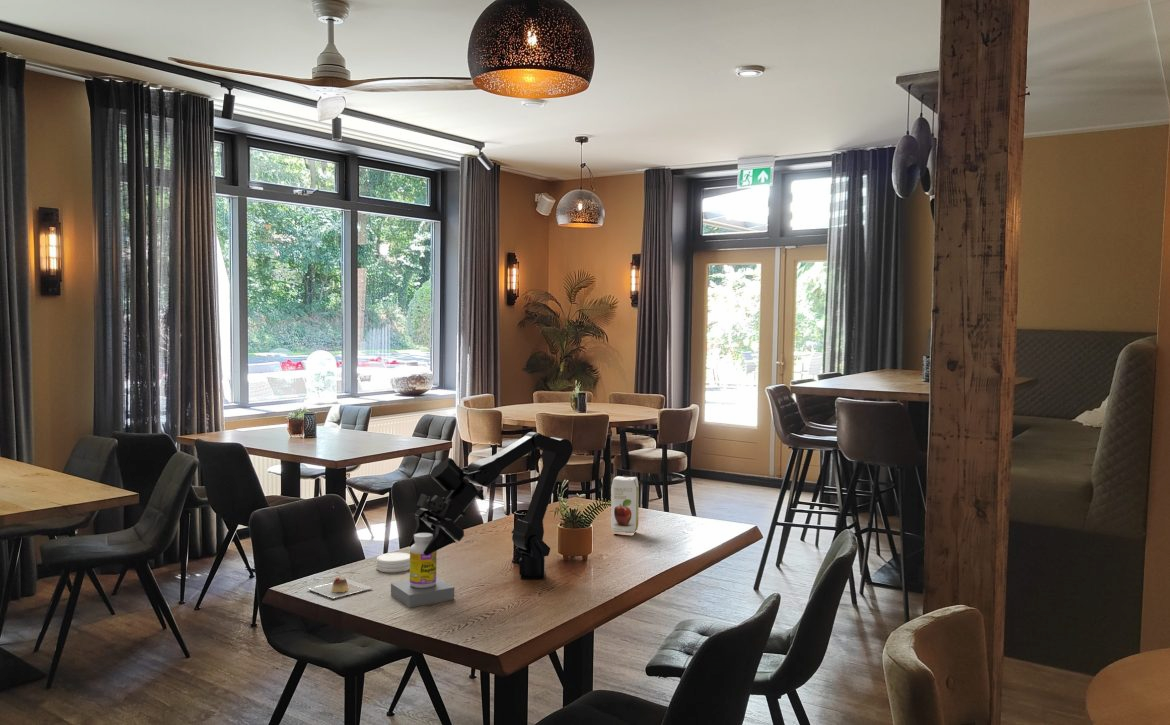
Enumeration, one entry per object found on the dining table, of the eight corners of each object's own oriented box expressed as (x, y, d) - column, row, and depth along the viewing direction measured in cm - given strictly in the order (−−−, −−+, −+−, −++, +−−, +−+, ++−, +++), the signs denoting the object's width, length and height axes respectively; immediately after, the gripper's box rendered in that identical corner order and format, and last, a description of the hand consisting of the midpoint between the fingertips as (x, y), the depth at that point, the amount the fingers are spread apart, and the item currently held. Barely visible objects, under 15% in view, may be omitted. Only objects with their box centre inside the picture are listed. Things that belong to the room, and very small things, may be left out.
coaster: (374, 565, 244) (374, 553, 244) (408, 562, 248) (408, 550, 248) (379, 574, 235) (379, 562, 235) (415, 571, 239) (415, 559, 239)
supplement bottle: (418, 590, 210) (418, 539, 210) (404, 584, 215) (404, 534, 214) (441, 585, 215) (441, 534, 214) (427, 579, 219) (427, 530, 219)
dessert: (306, 592, 219) (306, 574, 219) (346, 583, 228) (346, 565, 228) (332, 602, 211) (332, 583, 211) (373, 592, 221) (373, 573, 220)
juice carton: (614, 530, 290) (615, 475, 289) (639, 532, 287) (640, 476, 287) (609, 535, 282) (610, 478, 282) (635, 537, 280) (635, 480, 280)
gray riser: (434, 587, 223) (434, 576, 223) (454, 599, 213) (454, 587, 213) (390, 594, 216) (390, 583, 216) (409, 607, 206) (409, 595, 206)
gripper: (421, 477, 224) (381, 523, 218) (452, 488, 208) (410, 538, 202) (449, 503, 228) (410, 550, 222) (481, 516, 213) (440, 566, 207)
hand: (417, 550), depth 213 cm, fingers open, 9 cm apart
